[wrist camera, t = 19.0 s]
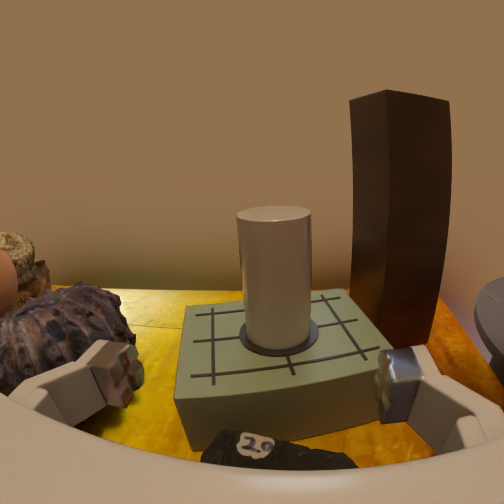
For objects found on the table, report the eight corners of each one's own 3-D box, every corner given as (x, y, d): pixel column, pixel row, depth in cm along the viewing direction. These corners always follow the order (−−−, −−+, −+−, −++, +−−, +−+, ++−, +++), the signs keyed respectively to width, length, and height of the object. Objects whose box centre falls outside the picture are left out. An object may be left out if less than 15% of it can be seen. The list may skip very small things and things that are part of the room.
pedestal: (397, 312, 34) (406, 106, 26) (427, 342, 27) (449, 101, 20) (346, 322, 33) (348, 100, 26) (372, 358, 27) (385, 89, 19)
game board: (338, 337, 31) (342, 285, 29) (387, 416, 20) (404, 358, 18) (196, 356, 30) (185, 303, 28) (192, 451, 18) (172, 396, 16)
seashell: (58, 493, 13) (174, 376, 18) (-71, 379, 10) (27, 228, 14) (76, 393, 31) (147, 315, 36) (5, 324, 28) (75, 239, 32)
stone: (61, 309, 42) (18, 296, 41) (55, 254, 38) (10, 245, 38) (3, 379, 25) (-42, 354, 24) (-20, 315, 22) (-63, 293, 21)
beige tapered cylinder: (301, 311, 25) (299, 203, 22) (318, 344, 20) (321, 217, 18) (243, 318, 25) (233, 208, 22) (250, 354, 20) (239, 223, 17)
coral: (37, 256, 38) (43, 225, 37) (34, 295, 31) (39, 259, 30) (-17, 244, 32) (-13, 211, 31) (-32, 280, 25) (-30, 243, 23)
